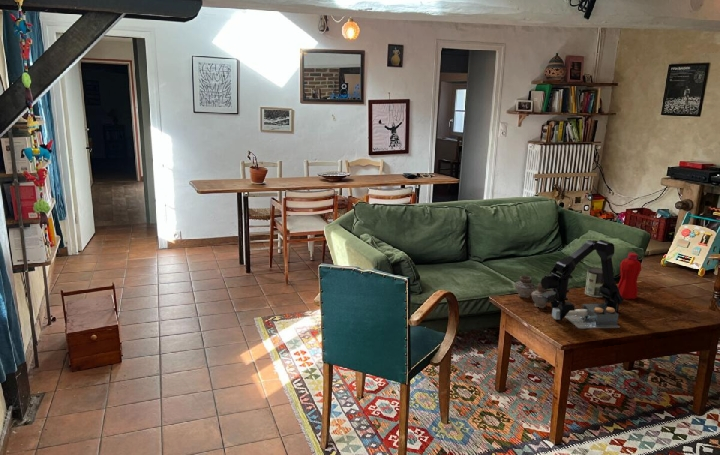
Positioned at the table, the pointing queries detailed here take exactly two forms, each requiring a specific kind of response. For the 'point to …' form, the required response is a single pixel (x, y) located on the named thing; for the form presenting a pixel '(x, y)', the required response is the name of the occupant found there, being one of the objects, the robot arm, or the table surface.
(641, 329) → the table surface
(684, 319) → the table surface
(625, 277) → the water bottle
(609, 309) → the plunger
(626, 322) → the table surface
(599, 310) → the plunger
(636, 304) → the table surface
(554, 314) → the cube-topped plunger
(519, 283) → the pottery
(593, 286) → the coffee can
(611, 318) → the grey slotted base
